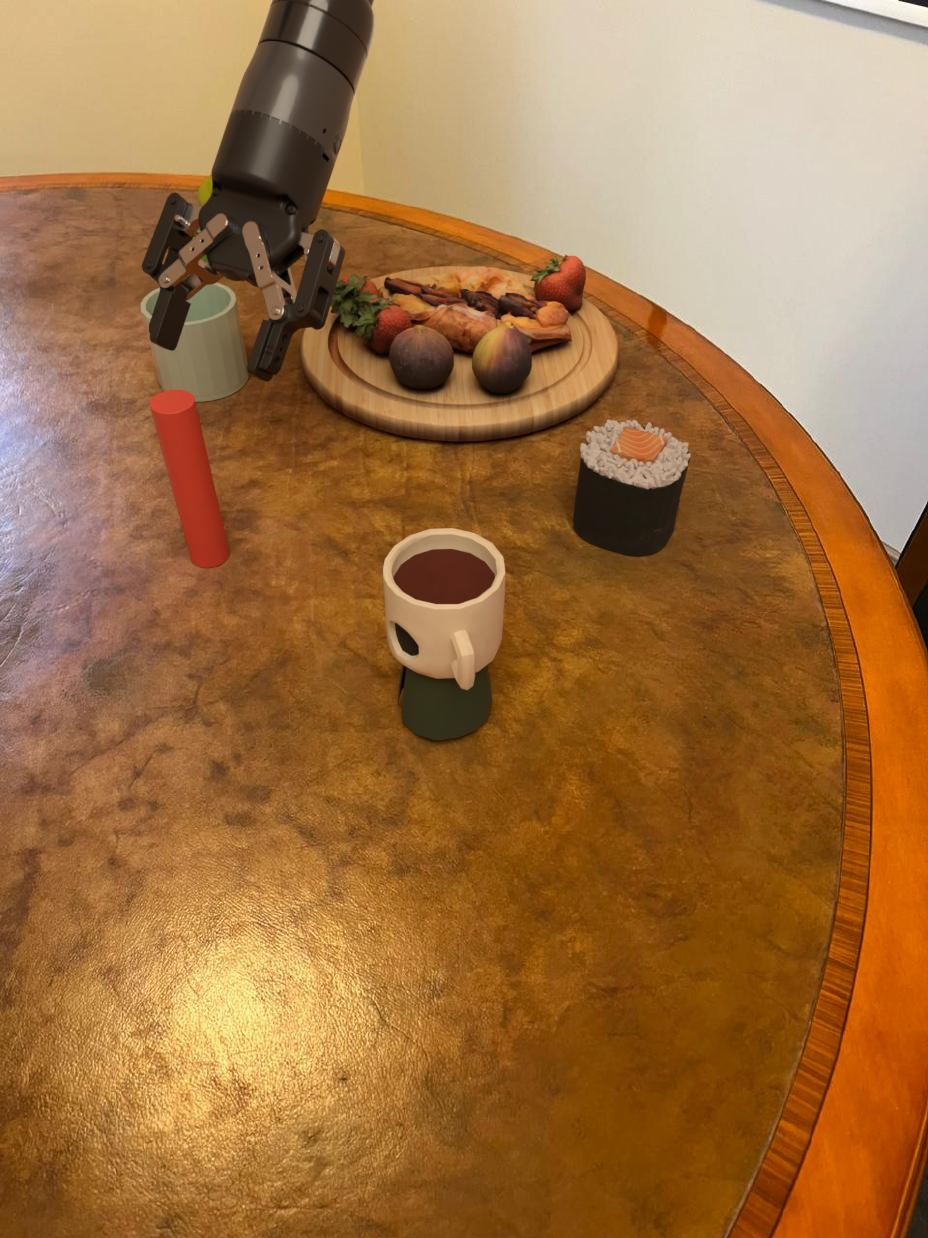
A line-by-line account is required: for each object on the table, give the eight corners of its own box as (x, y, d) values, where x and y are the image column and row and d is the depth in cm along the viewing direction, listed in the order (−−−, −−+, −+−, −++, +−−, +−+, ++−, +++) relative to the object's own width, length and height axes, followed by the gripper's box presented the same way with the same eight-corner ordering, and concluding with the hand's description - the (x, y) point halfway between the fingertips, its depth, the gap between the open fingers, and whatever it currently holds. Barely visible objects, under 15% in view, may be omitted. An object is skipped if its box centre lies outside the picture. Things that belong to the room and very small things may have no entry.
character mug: (376, 660, 66) (365, 517, 56) (474, 642, 67) (478, 499, 58) (411, 786, 58) (404, 645, 49) (519, 762, 60) (532, 621, 50)
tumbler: (150, 401, 88) (129, 323, 83) (171, 354, 94) (153, 279, 89) (240, 403, 88) (225, 325, 83) (256, 356, 94) (243, 280, 89)
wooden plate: (547, 268, 109) (552, 196, 103) (673, 413, 88) (689, 333, 82) (275, 307, 102) (264, 231, 96) (342, 475, 80) (333, 391, 75)
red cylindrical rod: (186, 567, 72) (144, 413, 62) (195, 542, 74) (155, 388, 64) (225, 568, 72) (189, 413, 62) (232, 543, 74) (198, 389, 64)
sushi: (592, 482, 80) (603, 402, 75) (686, 509, 78) (705, 429, 72) (557, 536, 75) (566, 455, 69) (656, 568, 73) (674, 486, 67)
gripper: (169, 88, 63) (94, 318, 64) (347, 124, 58) (263, 371, 59) (231, 147, 70) (163, 353, 71) (394, 183, 65) (318, 403, 66)
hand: (208, 361), depth 65 cm, fingers open, 8 cm apart
